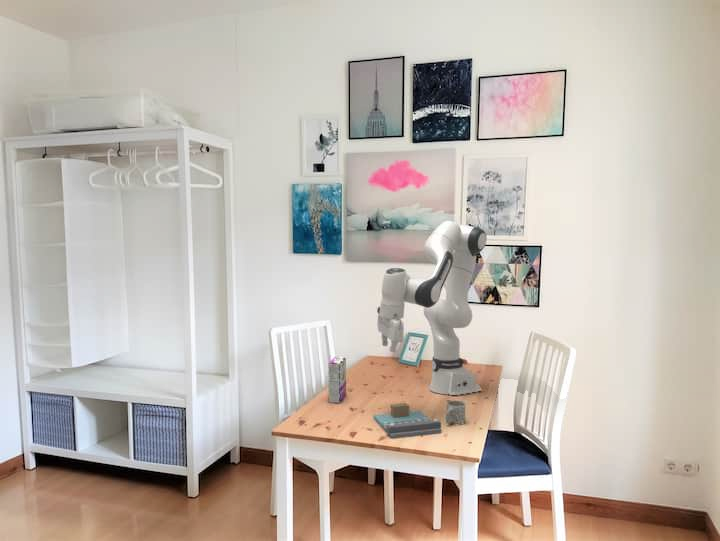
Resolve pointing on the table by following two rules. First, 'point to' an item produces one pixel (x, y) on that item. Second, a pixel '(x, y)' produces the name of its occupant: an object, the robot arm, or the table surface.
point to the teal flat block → (399, 415)
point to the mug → (455, 412)
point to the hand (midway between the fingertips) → (388, 348)
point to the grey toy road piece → (412, 428)
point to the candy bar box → (337, 379)
